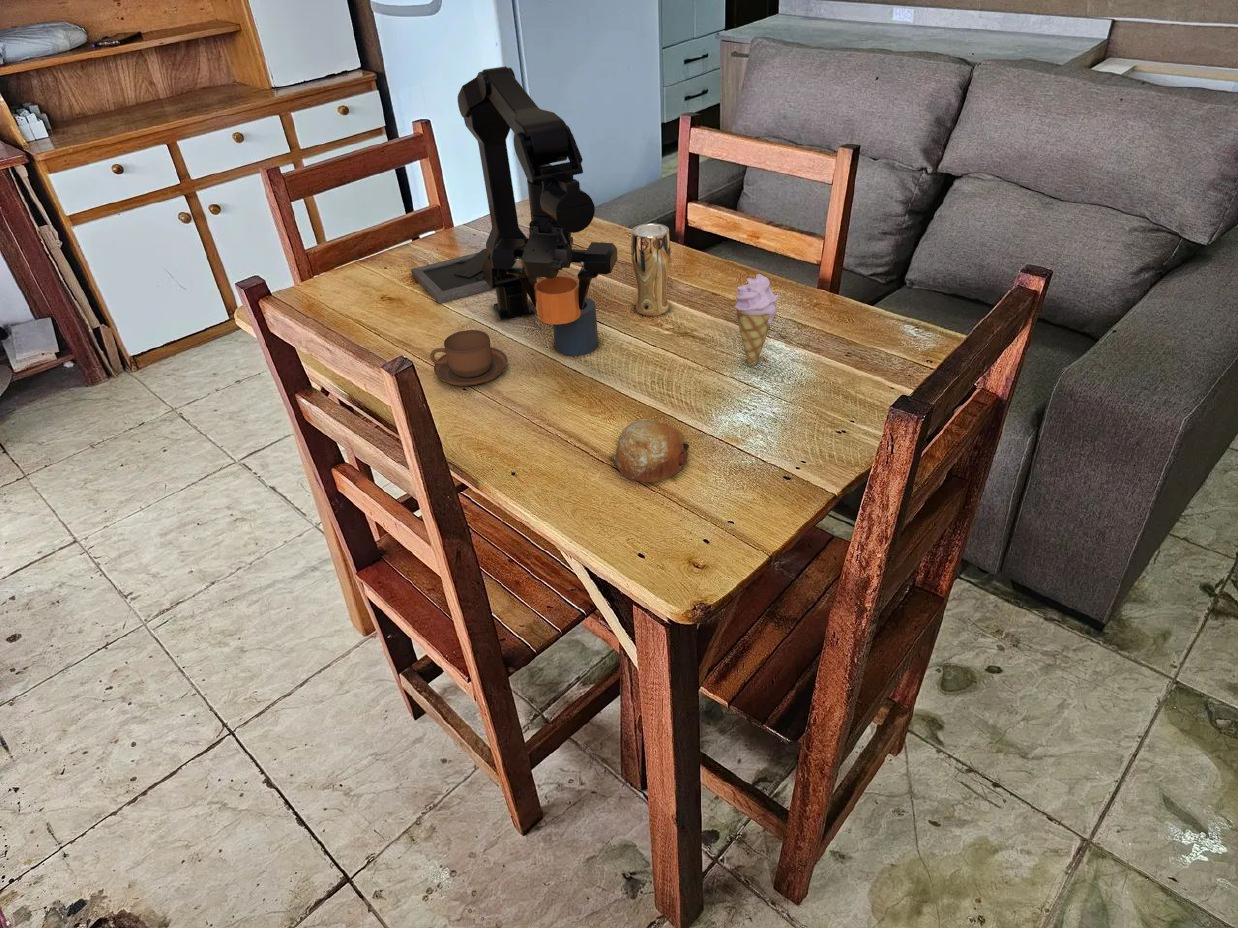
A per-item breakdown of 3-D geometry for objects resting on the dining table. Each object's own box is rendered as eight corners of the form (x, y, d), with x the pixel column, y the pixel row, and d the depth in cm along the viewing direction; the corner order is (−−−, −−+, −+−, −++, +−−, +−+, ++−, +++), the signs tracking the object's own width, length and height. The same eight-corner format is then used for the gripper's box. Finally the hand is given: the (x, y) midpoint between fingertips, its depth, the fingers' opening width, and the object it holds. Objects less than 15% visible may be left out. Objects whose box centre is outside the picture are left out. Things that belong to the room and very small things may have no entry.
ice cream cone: (777, 357, 137) (784, 271, 128) (770, 375, 132) (777, 288, 123) (738, 352, 139) (741, 267, 130) (729, 370, 134) (733, 284, 125)
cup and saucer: (449, 400, 131) (442, 365, 127) (426, 368, 139) (419, 335, 136) (519, 379, 135) (514, 345, 131) (493, 349, 144) (488, 317, 140)
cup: (532, 309, 134) (529, 280, 131) (574, 301, 135) (572, 272, 132) (543, 327, 128) (540, 298, 125) (586, 319, 130) (584, 290, 127)
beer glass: (668, 318, 150) (666, 238, 141) (630, 316, 152) (626, 236, 143) (673, 301, 156) (672, 223, 147) (637, 299, 157) (634, 222, 148)
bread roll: (625, 463, 121) (599, 424, 116) (689, 433, 119) (664, 391, 114) (632, 506, 113) (604, 465, 108) (700, 474, 111) (674, 431, 106)
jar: (550, 340, 145) (546, 300, 141) (590, 332, 147) (588, 293, 143) (561, 359, 140) (557, 318, 135) (603, 350, 141) (601, 310, 137)
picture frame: (505, 252, 179) (412, 276, 171) (504, 243, 178) (410, 267, 170) (537, 277, 168) (439, 303, 160) (536, 267, 167) (437, 294, 159)
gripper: (470, 228, 117) (486, 327, 127) (599, 233, 114) (605, 335, 123) (496, 201, 126) (508, 295, 135) (616, 205, 122) (620, 301, 132)
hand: (558, 307), depth 131 cm, fingers closed on cup, 7 cm apart
